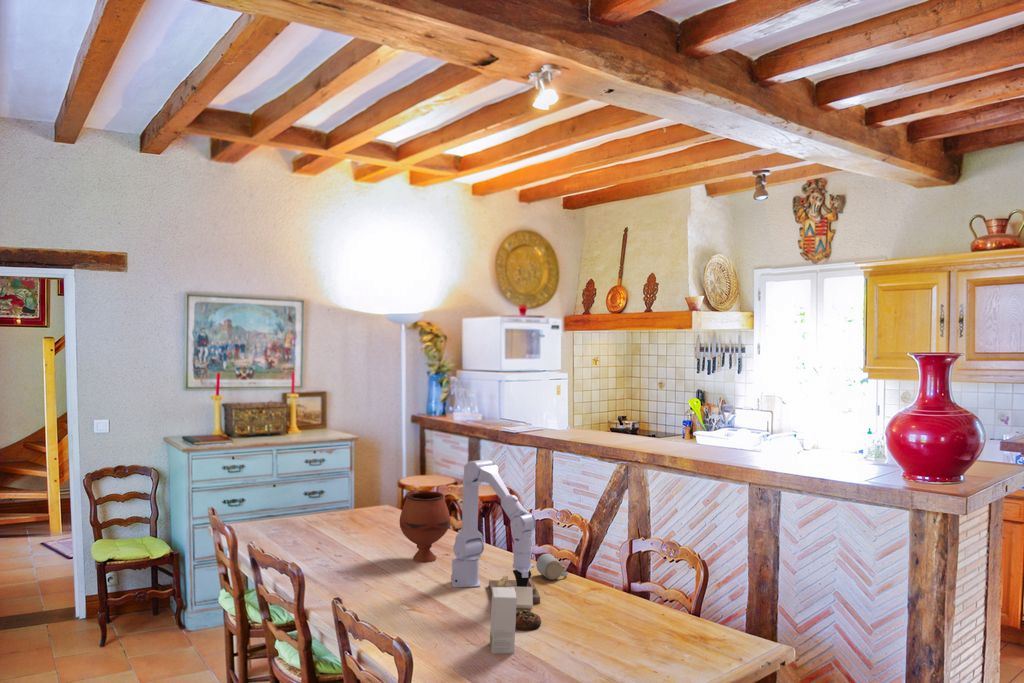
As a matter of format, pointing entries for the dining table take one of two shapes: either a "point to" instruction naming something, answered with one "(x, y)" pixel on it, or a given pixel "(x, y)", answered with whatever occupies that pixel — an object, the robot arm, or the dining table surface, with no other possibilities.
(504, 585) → the brass T-key
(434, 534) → the goblet
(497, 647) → the skincare box
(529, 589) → the cream cover
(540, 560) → the ceramic mug
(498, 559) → the dining table surface
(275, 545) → the dining table surface
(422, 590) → the dining table surface
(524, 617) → the bread roll
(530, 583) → the board
